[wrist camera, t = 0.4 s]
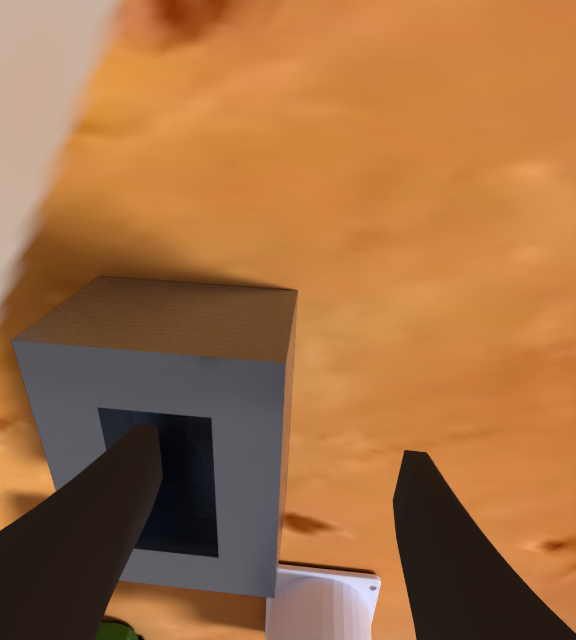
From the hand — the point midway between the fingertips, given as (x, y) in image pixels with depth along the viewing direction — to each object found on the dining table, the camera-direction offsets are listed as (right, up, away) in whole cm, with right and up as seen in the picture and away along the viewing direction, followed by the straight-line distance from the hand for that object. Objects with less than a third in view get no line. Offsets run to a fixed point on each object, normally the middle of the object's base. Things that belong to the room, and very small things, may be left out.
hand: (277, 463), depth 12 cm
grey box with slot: (-5, 0, +12) cm, 13 cm away
